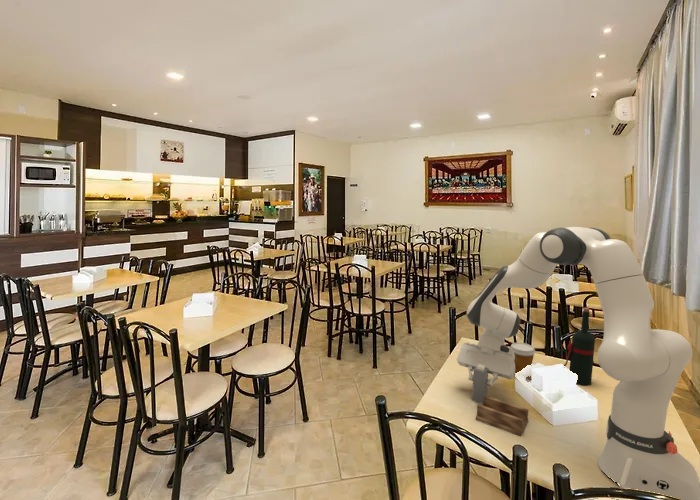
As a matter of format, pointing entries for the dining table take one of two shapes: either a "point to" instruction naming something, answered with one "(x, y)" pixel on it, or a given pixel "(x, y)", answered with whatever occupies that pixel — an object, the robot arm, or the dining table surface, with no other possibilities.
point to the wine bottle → (582, 352)
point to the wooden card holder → (502, 415)
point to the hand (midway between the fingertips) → (479, 382)
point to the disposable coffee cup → (522, 355)
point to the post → (480, 383)
